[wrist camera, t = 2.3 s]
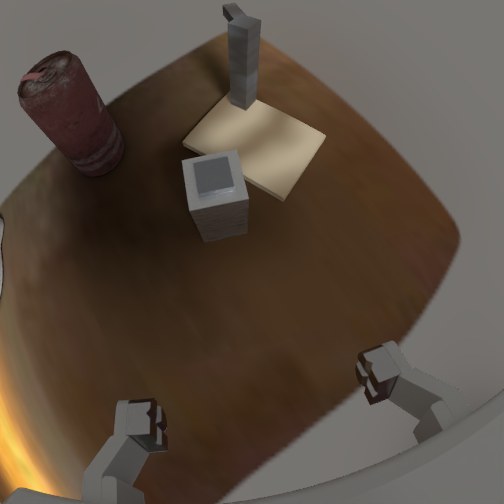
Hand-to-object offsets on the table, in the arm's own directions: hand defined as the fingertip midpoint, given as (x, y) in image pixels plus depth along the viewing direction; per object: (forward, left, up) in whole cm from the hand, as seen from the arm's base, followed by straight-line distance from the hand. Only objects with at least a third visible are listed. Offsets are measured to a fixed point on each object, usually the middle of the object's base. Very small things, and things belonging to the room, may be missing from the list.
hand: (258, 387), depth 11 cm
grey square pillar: (-9, +9, -15) cm, 19 cm away
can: (-25, +8, -15) cm, 30 cm away
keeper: (-11, +19, -15) cm, 26 cm away
